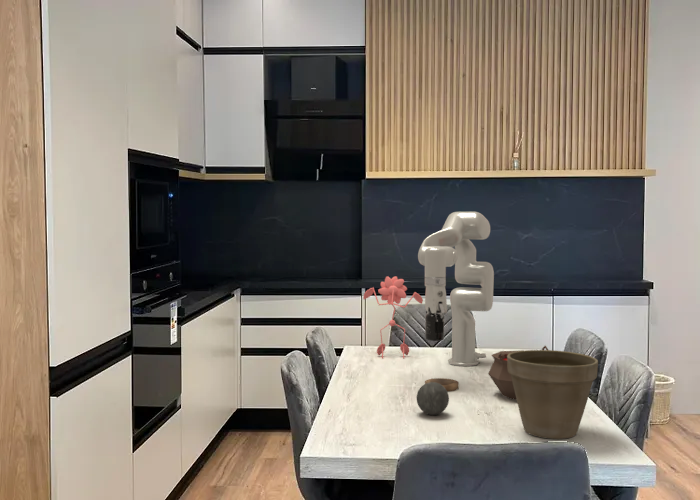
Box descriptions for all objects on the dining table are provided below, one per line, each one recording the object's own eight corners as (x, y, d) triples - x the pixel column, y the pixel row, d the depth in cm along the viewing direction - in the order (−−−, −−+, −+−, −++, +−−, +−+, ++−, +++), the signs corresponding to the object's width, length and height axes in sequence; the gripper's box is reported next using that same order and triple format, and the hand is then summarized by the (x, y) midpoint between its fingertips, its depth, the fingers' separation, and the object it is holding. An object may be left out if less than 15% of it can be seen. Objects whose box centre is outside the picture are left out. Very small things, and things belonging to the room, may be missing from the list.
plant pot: (579, 419, 222) (580, 348, 221) (611, 444, 197) (612, 365, 196) (497, 420, 221) (498, 348, 220) (519, 446, 196) (519, 366, 195)
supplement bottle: (444, 341, 261) (445, 307, 260) (425, 341, 261) (425, 307, 261) (443, 338, 268) (443, 305, 267) (424, 337, 268) (424, 305, 267)
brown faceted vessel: (525, 408, 234) (525, 358, 233) (473, 393, 254) (473, 346, 253) (575, 398, 247) (575, 350, 246) (522, 384, 267) (522, 339, 266)
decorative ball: (415, 418, 223) (415, 385, 223) (417, 409, 233) (417, 378, 233) (448, 419, 222) (448, 386, 221) (448, 410, 232) (449, 379, 231)
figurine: (423, 358, 313) (423, 277, 312) (363, 358, 314) (363, 277, 313) (421, 352, 329) (421, 275, 328) (364, 352, 330) (363, 275, 329)
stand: (449, 382, 270) (450, 376, 269) (464, 390, 258) (464, 384, 258) (419, 385, 266) (419, 379, 266) (433, 392, 255) (433, 386, 254)
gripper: (454, 283, 256) (454, 334, 257) (435, 279, 273) (435, 327, 274) (434, 284, 254) (434, 335, 255) (416, 280, 271) (416, 328, 272)
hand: (434, 330), depth 264 cm, fingers closed on supplement bottle, 6 cm apart
